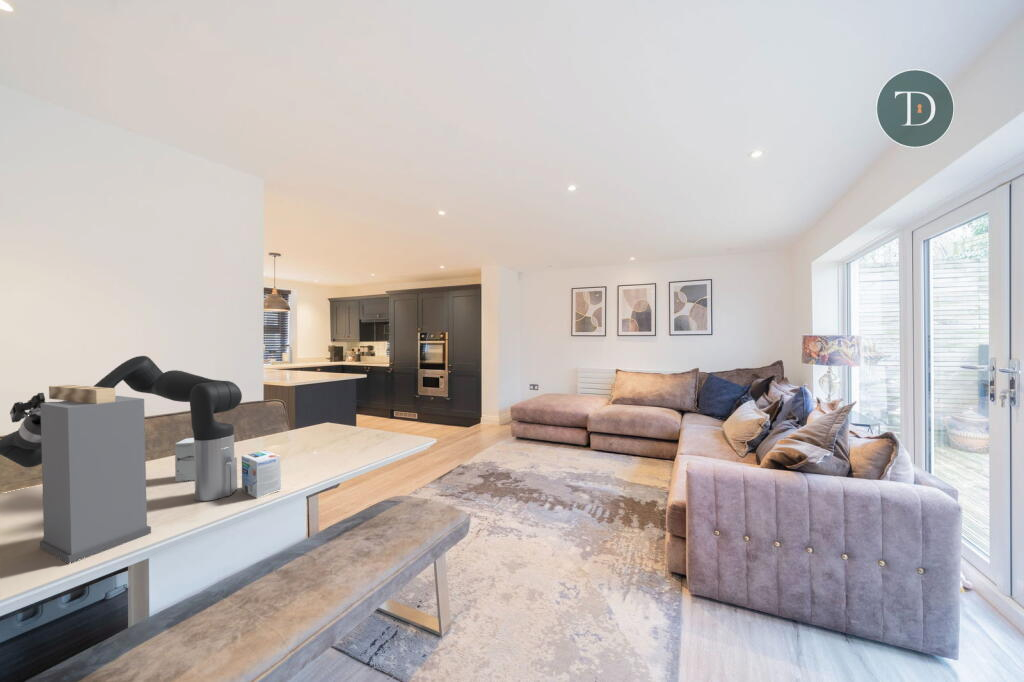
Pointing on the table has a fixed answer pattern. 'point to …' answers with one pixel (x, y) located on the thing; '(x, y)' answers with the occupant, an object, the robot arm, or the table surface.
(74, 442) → the charcoal pedestal
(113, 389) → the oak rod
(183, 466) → the supplement box
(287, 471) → the table surface
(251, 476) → the light bulb box
